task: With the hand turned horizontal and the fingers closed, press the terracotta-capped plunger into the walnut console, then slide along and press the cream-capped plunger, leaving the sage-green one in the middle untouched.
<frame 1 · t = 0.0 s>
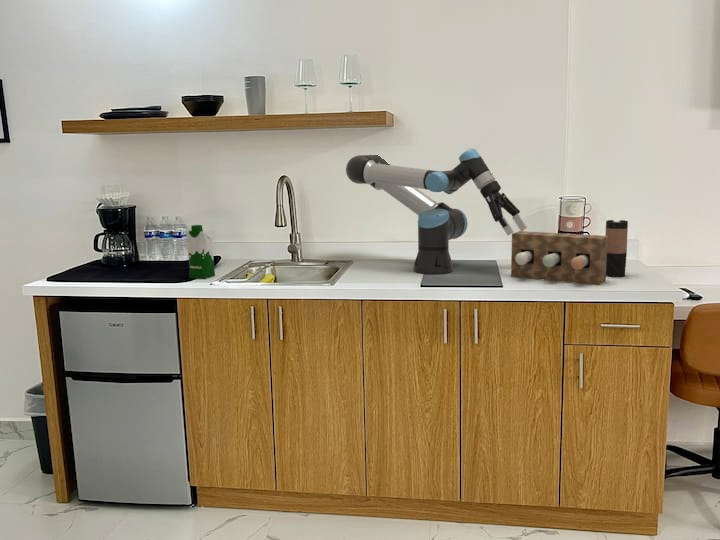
hand: (517, 231, 279), 15 cm above the table, tool tilted 35°, fingers open, 13 cm apart
teacup with lid: (564, 272, 278), on the table
travel mug: (614, 275, 270), on the table
sage button: (552, 259, 259), point 8 cm above the table, slide at 0.0 cm
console: (557, 278, 266), on the table
terracotta button: (580, 261, 254), point 8 cm above the table, slide at 0.0 cm
milk carton: (202, 277, 282), on the table
cream button: (524, 257, 264), point 8 cm above the table, slide at 0.0 cm
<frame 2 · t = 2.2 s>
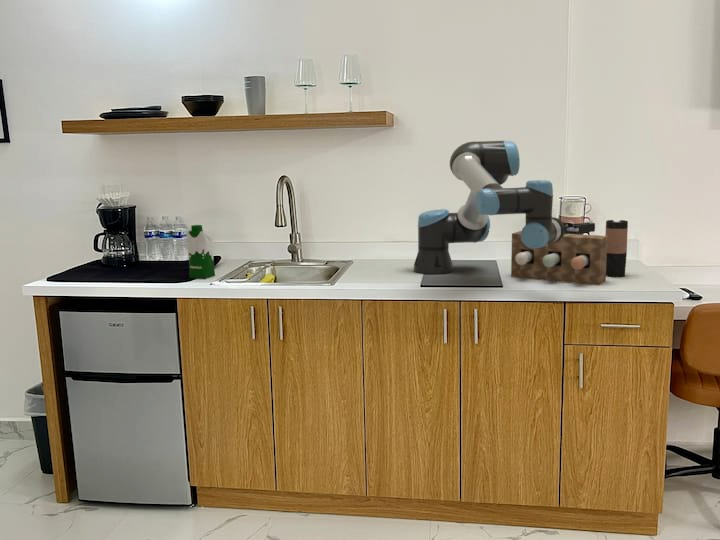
hand: (571, 223, 242), 22 cm above the table, tool horizontal, fingers open, 12 cm apart
nothing on the table moved.
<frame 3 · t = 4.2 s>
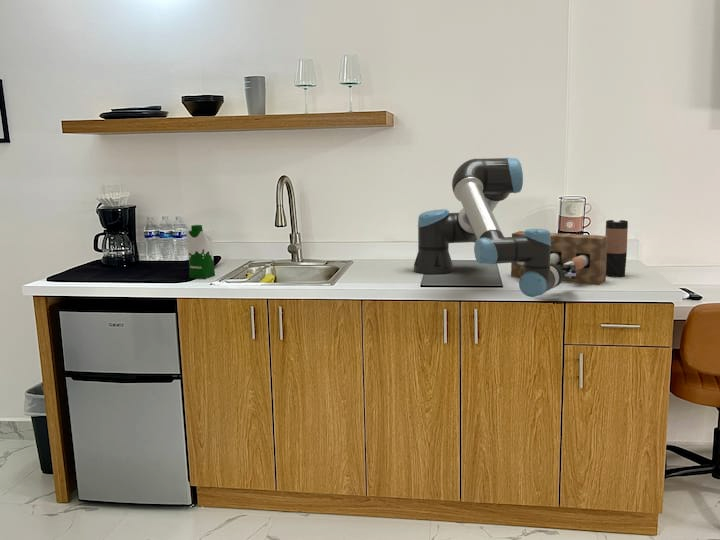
hand: (571, 265, 245), 8 cm above the table, tool horizontal, fingers closed
nothing on the table moved.
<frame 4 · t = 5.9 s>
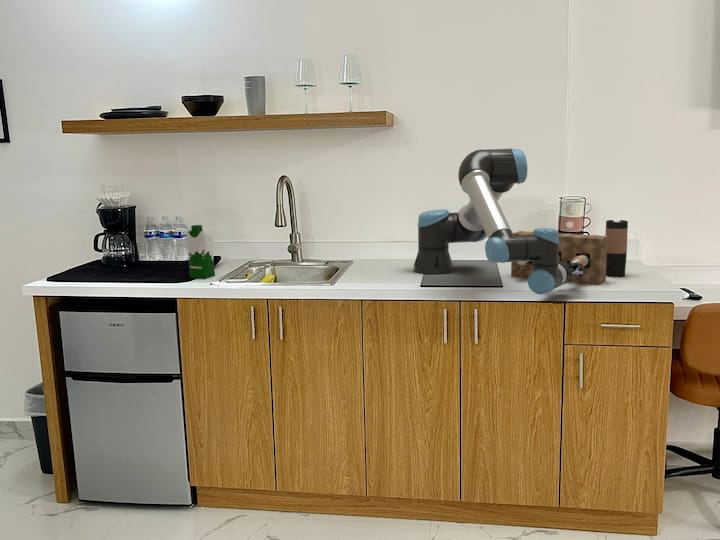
hand: (578, 263, 251), 8 cm above the table, tool horizontal, fingers closed
terracotta button: (581, 261, 254), point 8 cm above the table, slide at 1.0 cm, touching gripper
everything else where it was.
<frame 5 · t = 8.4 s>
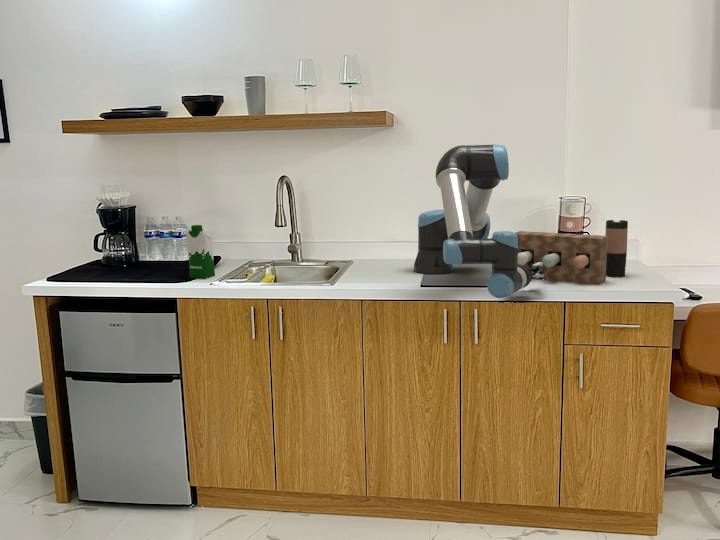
hand: (540, 266, 250), 7 cm above the table, tool horizontal, fingers closed
terracotta button: (582, 260, 256), point 8 cm above the table, slide at 2.8 cm
everything else where it was.
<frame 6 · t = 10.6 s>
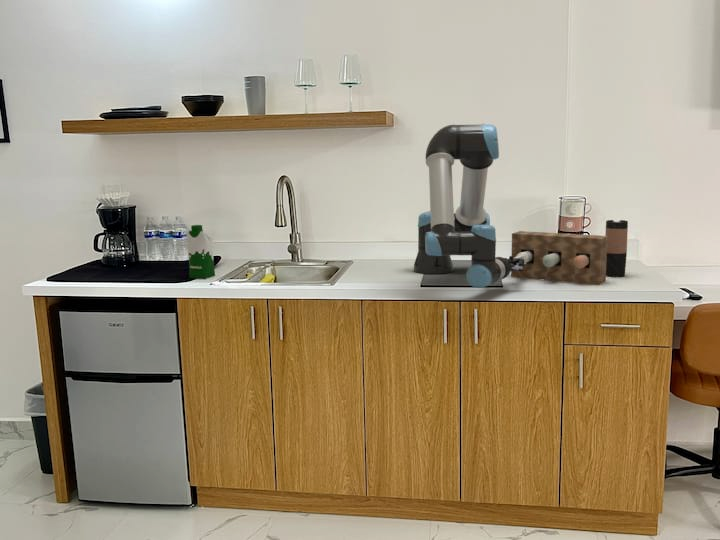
hand: (522, 259, 262), 8 cm above the table, tool horizontal, fingers closed
cream button: (525, 257, 265), point 8 cm above the table, slide at 0.6 cm, touching gripper
everything else where it was.
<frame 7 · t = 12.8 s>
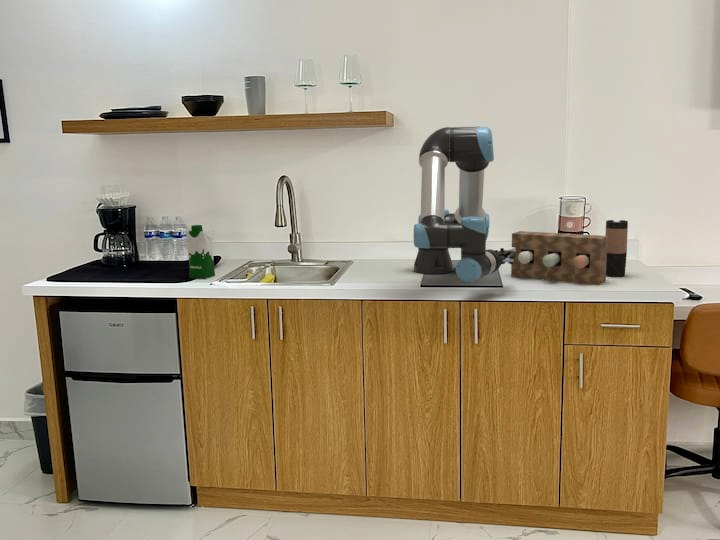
hand: (513, 251, 255), 12 cm above the table, tool horizontal, fingers closed
cream button: (527, 256, 267), point 8 cm above the table, slide at 2.8 cm
everything else where it was.
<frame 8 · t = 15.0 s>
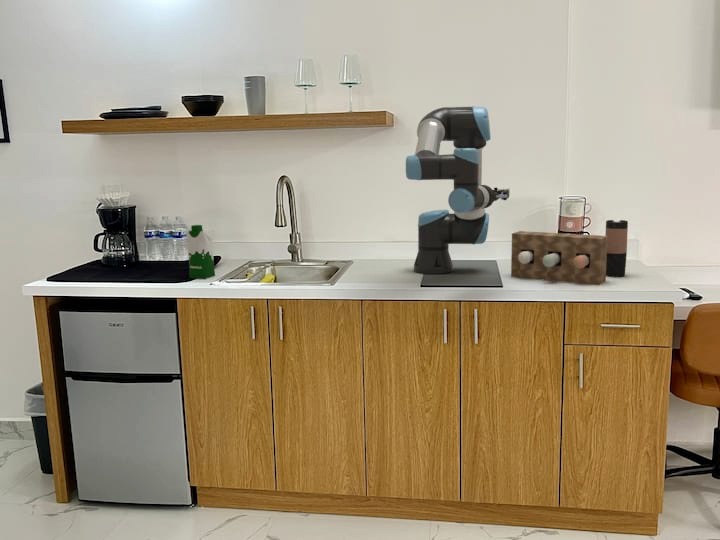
hand: (507, 192, 254), 32 cm above the table, tool horizontal, fingers closed
nothing on the table moved.
at the end: terracotta button slide at 2.8 cm; cream button slide at 2.8 cm; sage button slide at 0.0 cm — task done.
